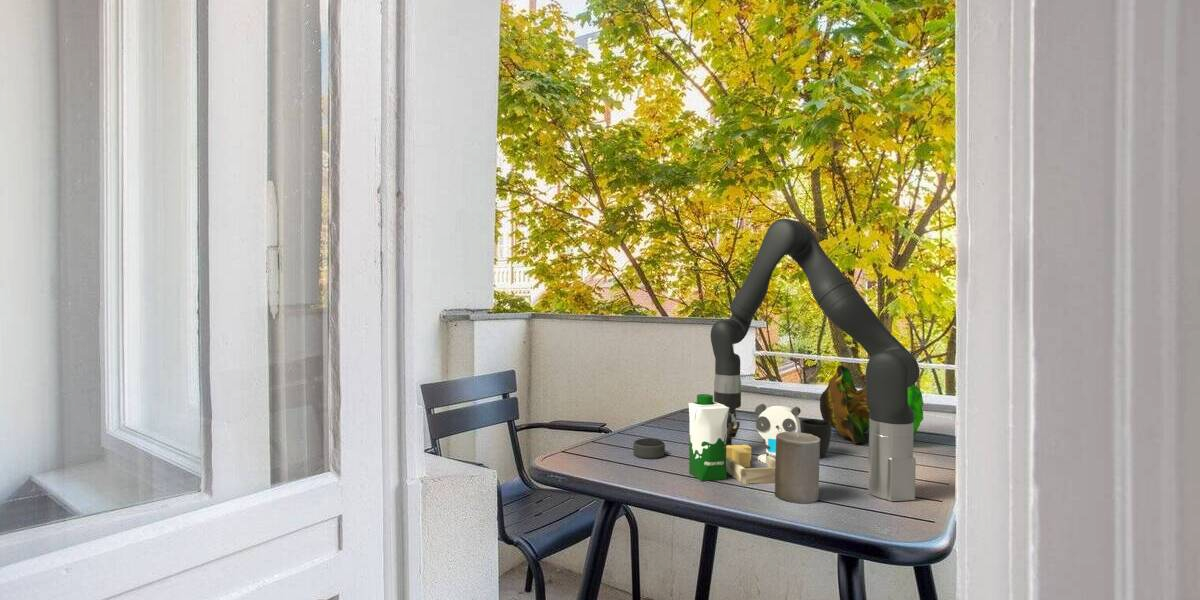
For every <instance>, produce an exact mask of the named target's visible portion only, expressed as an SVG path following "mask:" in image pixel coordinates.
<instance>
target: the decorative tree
mask: <svg viewBox="0 0 1200 600" xmlns="http://www.w3.org/2000/svg"><path fill="white" fill-rule="evenodd" d="M920 389H921V388H919V387H918V386H916V383H915V384H914V385H912V386H911V387H908V404H909V407H910V408H911V409H912V410H913V412H914V434H913V438H915V436H916V435H917V432H918V429H919V427H920V425H921V423H922V421H923V420H924V418H925V417H924V412H923V411H924V410H923V407H924V398H923V393H922V391H921V390H920ZM819 411H820V414H821V418H822V420H824V421H828V422H830V423H831V428H834V429H835V430H837V432H838V434H839V436H840V437H848V438H850V440H852V442H853V444H854V445H857V444H861V443H864V442H865V439H866V437H865V433H866V432H867V431H869V430H868V429H869V409H868V407H867V403H866V384H865V385H864V387H863V388H860V389H859V390H858V389H857V388H856V386H855V384H854V380H853V375H852V373H851V370H850V369H849V368H848V367H845V366H844V365H842V364H838V365H837V367H836V372H835V374H834V375H833V376H832V377H831V378H830V379H829V380H828V385H827V387H826V388H825V389H824V391H823V392H822V393H821V394H820V398H819Z"/></svg>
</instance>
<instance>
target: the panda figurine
mask: <svg viewBox="0 0 1200 600" xmlns="http://www.w3.org/2000/svg"><path fill="white" fill-rule="evenodd" d="M801 411H802V410H801V408H800V407H799V406H794V407H793V408H790V407H787V406H783V405H773V406H769V407H767V406H766V404H765V403H761V404H759V405H758V406H756V407H755V409H754V412H755V414H756V416H757V415H758V418H757V419H756V423H755V426H756V427H755V428H756V430H757V432H758V433H759V436H761V438H762V439H763V440H762V443H761V444H762V445H763V447H764V448H765V454H764V453H763V454H760V455H758V456H757V460H758V461H759V460H760V461H761V462H760V461H759V462H760V463H762V462H763V463H762V464H764V463H766V456H771V457H772V458H774V459H775V458H776V435H777V434H778V433H782V432H797V431H798V432H799V431H800V430H801V425H800V418H799V415H800V414H801Z"/></svg>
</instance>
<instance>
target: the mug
mask: <svg viewBox="0 0 1200 600" xmlns="http://www.w3.org/2000/svg"><path fill="white" fill-rule="evenodd" d="M799 422H800V433H806V434H811V435H814V436H816V437H818V438H820V459H823V458H826V457H827V453H828V450H829V446H830V443H831V437H832V427H831V423H830V422H828V421H824V420H823V419H817V418H816V419H815V418H814V419H813V418H809V419H807V418H801V419H800V420H799Z"/></svg>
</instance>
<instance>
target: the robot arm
mask: <svg viewBox="0 0 1200 600" xmlns="http://www.w3.org/2000/svg"><path fill="white" fill-rule="evenodd" d="M785 255H787V256H789V257H791V259H792V260H794V262H795V263H796V264H797V265H798V267H800V269H801V270H802V271H803V273H804V274H805V276H806V279H807V281H808V284H809V287H810V291H811V294H812V296H813V299H814V300H815V302H816V303H817V305H818V306H819V308H820V309H821V310H822V311H823V313H824V314H825V315H826V317H827V318H828V319H829V320H830V322H832V323H833V324H834V325H835V326H836V327H837V328H839V329H840V330H842V332H843V333H845V334H846V335H848V336H849V337H850V338H852V339H853V340H854V341H856V342H857V343H858V344H859V345H860V346H861V347H862V348H863V350H864V351H865V352H866V354H867V355H868V356H869V357H870V358H869V360H868V361H867V365H866V368H865V385H866V403H867V407H868V409H869V428H868V429H869V430H868V469H867V470H868V471H867V472H868V473H867V474H868V478H867V479H868V483H867V485H868V486H867V488H868V489H867V491H868V493H869V494H870V495H872V496H874V497H877V498H880V499H884V500H888V501H890V502H896V501H897V502H900V501H901V502H902V501H903V502H904V501H915V500H916V465H917V464H916V463H917V461H916V460H917V459H916V458H915V457H914V437H913V434H914V412H913V410H912V409H911V408H910V407H909V404H908V387H911V386H912V385H914V384H915V385H916V383H918V381H919V378H920V374H921V373H920V372H921V371H920V370H921V369H920V366H919V363H918V361H917V358H915V356H914V355H913V354H912V353H911V352H910V351H909V350H908V349H907V348H906V347H905V346H904V345H903V344H902V343H901V342H900V341H899V340H898V339H897V338H896V337H895V336H894V335H893V334H892V333H891V332H890V331H889V330H888V329H887V328H886V326H885V325H884V324H883V323H882V321H881V320H880V319H879V317H878V315H876V313H875V312H874V311H873V309H872V308H871V306H870V305H869V304H868V303H867V302H866V301H865V300H864V298H863V297H862V295H861V293H859V291H858V290H857V289H856V288H855V287H854V285H853V284H852V283H851V282H850V280H848V279H847V277H846V276H845V274H843V272H842V271H841V270H840V269H839V267H837V265H836V264H835V263H834V262H833V261H832V260H831V259H830V257H828V255H827V253H826V252H825V251H824V249H823V248H822V246H821V245H820V243H819V242H818V240H817V238H816V237H815V234H813V232H812V231H811V229H810V228H809V227H808V226H807V224H805V223H803V222H802V221H799V220H794V219H790V218H779V219H777V220H774V221H773V222H772V223H771V224H770V225H769V227H768V229H767V231H766V233H765V235H764V236H763V240H762V242H761V244H760V247H759V249H758V252H757V254H756V256H755V259H754V261H753V264H752V265H751V268H750V270H749V272H748V274H747V276H746V278H745V279H744V282H743V283H742V285H741V287H740V288H739V290H738V291H737V293H736V295H735V296H734V298H733V300H732V301H731V303H730V305H729V309H730V312H731V315H730V318H728V319H720V320H717V321H716V322H715V323H713V325H712V326H711V330H710V343H711V347H712V351H713V355H714V359H715V361H714V371H715V372H714V381H713V402H717V403H720V404H723V405H725V406H726V407H728V408H729V412H728V418H727V445H733V443H732V440H733V438H736V436H737V433H738V431H739V428H740V426H741V425H740V424H741V423H740V422H739V421H737V413H736V409H739V408H741V406H742V380H741V379H742V378H741V377H742V376H741V357H740V355H739V354H738V353H735V352H734V346H733V345H736V344H740V343H741V342H742V341H743V340H744V339H745V337H746V336H747V335H748V332H749V330H750V327H751V324H752V321H753V319H754V316H755V314H756V313H757V312H758V310H759V308H760V307H761V305H762V303H763V301H764V300H765V298H766V296H767V293H768V290H769V287H770V281H771V279H772V275H773V273H774V271H775V269H776V267H777V266H778V264H779V262H780V261H781V260H782V259H783V258H784V256H785Z"/></svg>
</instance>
